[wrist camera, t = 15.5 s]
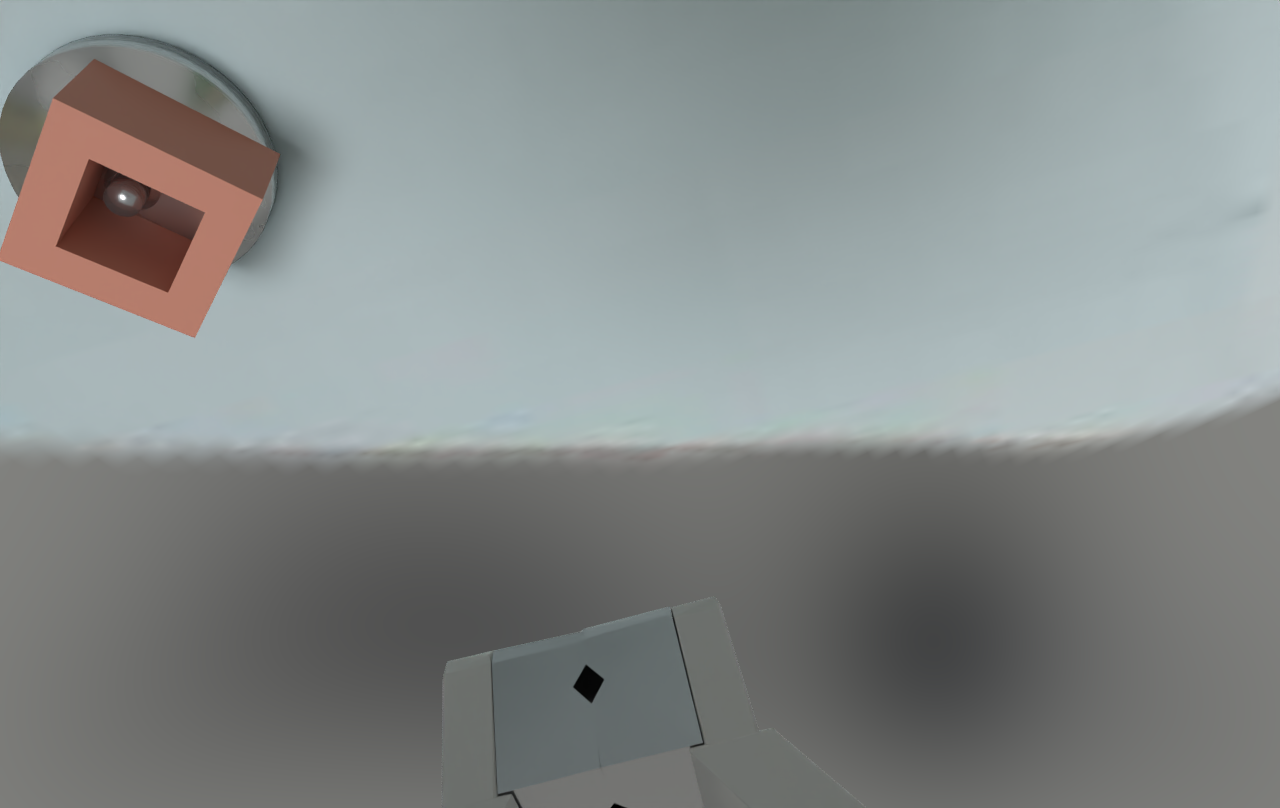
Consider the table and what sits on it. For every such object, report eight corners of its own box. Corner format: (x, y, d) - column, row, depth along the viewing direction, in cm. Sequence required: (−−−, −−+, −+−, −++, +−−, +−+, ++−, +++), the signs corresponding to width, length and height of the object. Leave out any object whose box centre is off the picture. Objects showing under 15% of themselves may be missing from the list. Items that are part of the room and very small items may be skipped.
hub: (-14, 194, 33) (-60, 242, 30) (55, -19, 30) (11, 10, 27) (227, 296, 38) (208, 347, 35) (315, 121, 34) (302, 160, 31)
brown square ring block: (40, 208, 33) (-3, 259, 30) (94, 58, 30) (52, 98, 27) (216, 283, 36) (194, 337, 33) (280, 154, 33) (262, 199, 30)
